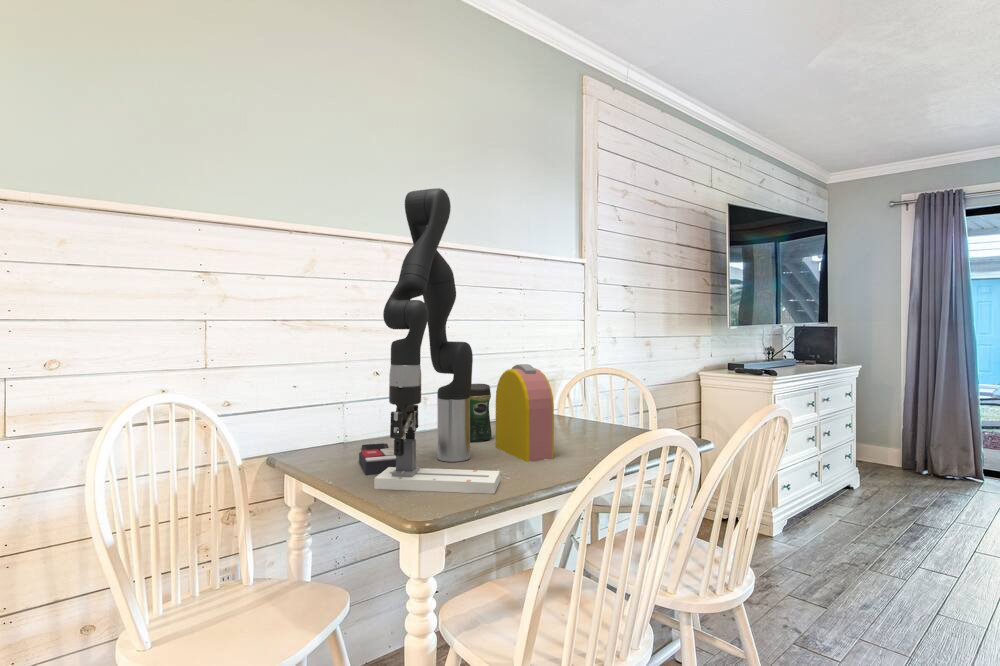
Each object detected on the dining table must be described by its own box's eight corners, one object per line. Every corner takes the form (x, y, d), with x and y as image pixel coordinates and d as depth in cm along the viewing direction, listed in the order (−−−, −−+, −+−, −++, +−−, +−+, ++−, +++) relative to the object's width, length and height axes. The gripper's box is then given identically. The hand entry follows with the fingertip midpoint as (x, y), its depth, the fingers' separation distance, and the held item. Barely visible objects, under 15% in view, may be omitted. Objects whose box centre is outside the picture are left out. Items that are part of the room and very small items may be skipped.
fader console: (388, 477, 137) (388, 466, 137) (500, 481, 133) (500, 470, 133) (374, 488, 127) (374, 477, 127) (494, 493, 123) (494, 482, 123)
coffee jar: (485, 436, 187) (485, 382, 187) (494, 440, 180) (494, 384, 180) (458, 438, 183) (458, 383, 183) (466, 443, 176) (466, 385, 176)
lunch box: (554, 458, 156) (554, 366, 156) (526, 462, 152) (526, 367, 152) (520, 444, 175) (520, 361, 175) (494, 446, 171) (494, 362, 171)
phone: (387, 443, 172) (390, 454, 158) (387, 446, 172) (390, 457, 158) (361, 444, 170) (362, 455, 156) (361, 448, 170) (362, 459, 156)
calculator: (398, 446, 156) (408, 455, 142) (398, 461, 156) (408, 472, 142) (358, 449, 152) (365, 459, 138) (358, 465, 152) (365, 476, 138)
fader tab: (400, 469, 134) (400, 437, 134) (419, 469, 134) (419, 437, 134) (391, 476, 128) (391, 442, 128) (412, 476, 127) (412, 443, 127)
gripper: (399, 380, 138) (398, 445, 138) (379, 386, 124) (379, 457, 124) (428, 381, 137) (427, 446, 137) (411, 386, 123) (411, 459, 123)
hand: (404, 451), depth 131 cm, fingers open, 8 cm apart
